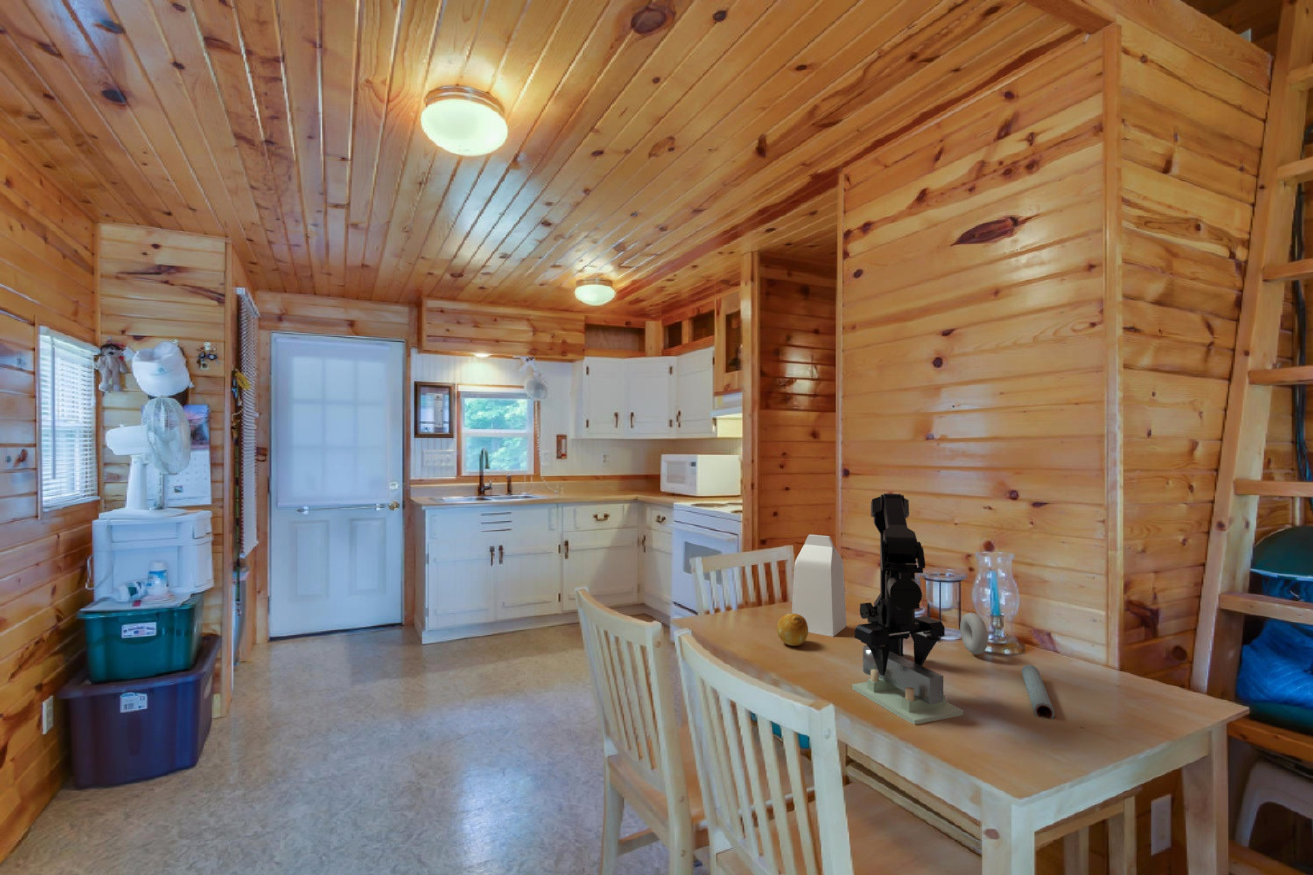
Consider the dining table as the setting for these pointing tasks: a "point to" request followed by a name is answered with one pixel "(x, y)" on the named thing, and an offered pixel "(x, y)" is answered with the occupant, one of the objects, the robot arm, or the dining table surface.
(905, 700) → the rack
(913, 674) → the long grey rectangular beam
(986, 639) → the donut
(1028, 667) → the aluminum foil
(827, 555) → the milk
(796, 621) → the fruit
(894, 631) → the robot arm
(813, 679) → the dining table surface
